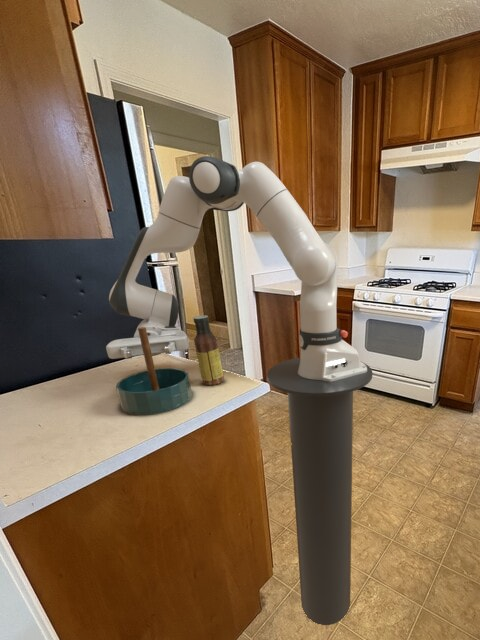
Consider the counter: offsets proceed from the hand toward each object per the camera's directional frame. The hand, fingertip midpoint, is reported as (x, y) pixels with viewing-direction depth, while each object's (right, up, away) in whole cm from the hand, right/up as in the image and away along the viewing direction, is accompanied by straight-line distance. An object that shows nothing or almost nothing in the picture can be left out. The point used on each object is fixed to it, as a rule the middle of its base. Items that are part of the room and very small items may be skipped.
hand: (148, 353), depth 91 cm
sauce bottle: (+12, -8, +15) cm, 21 cm away
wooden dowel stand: (+1, -12, +4) cm, 12 cm away
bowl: (+1, -12, +4) cm, 13 cm away
